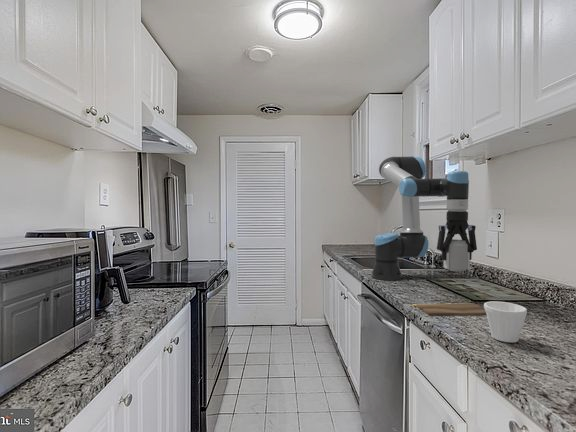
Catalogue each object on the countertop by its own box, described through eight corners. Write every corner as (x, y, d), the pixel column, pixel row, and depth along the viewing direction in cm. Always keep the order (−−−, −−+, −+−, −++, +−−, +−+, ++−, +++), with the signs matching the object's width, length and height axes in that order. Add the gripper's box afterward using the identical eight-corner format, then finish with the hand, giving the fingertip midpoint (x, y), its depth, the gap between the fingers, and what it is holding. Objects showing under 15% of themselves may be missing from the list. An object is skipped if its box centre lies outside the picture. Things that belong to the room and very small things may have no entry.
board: (416, 306, 119) (416, 304, 119) (474, 305, 119) (475, 303, 119) (429, 315, 109) (429, 313, 109) (492, 314, 109) (492, 312, 109)
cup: (489, 329, 96) (489, 299, 96) (530, 339, 89) (530, 306, 88) (478, 339, 89) (479, 306, 89) (522, 350, 82) (522, 314, 82)
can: (462, 268, 129) (462, 238, 129) (470, 272, 122) (471, 241, 121) (442, 267, 130) (443, 238, 130) (450, 271, 123) (450, 241, 122)
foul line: (411, 304, 121) (411, 304, 121) (474, 304, 121) (474, 303, 121) (413, 305, 120) (413, 305, 120) (476, 305, 120) (476, 304, 120)
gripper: (436, 211, 121) (435, 270, 122) (488, 210, 122) (487, 269, 122) (427, 210, 129) (426, 266, 130) (476, 210, 129) (475, 266, 130)
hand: (456, 268), depth 126 cm, fingers closed on can, 7 cm apart
